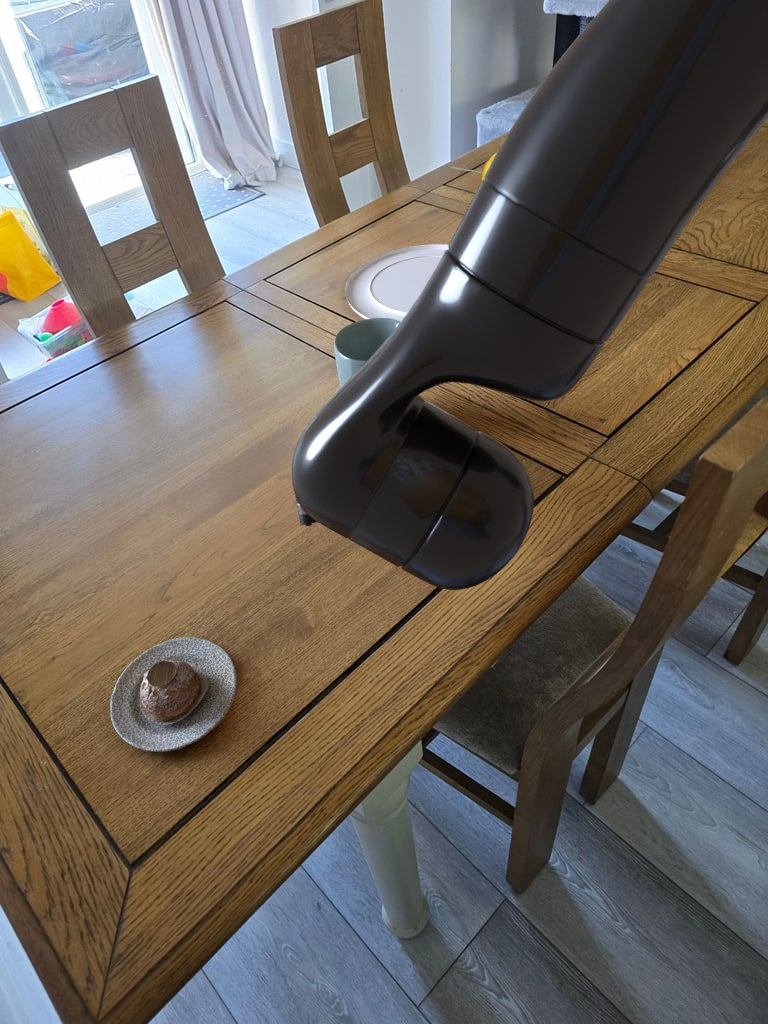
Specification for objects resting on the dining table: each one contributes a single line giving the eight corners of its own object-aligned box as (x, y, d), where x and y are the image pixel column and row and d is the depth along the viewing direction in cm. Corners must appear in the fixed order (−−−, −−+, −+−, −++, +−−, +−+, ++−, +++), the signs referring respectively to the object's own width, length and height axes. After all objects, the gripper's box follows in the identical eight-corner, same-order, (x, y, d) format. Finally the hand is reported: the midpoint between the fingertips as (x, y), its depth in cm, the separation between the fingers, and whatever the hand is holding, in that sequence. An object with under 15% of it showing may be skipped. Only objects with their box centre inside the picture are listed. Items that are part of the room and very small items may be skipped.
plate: (401, 237, 131) (400, 233, 130) (539, 265, 119) (540, 261, 118) (312, 307, 115) (311, 303, 115) (461, 348, 103) (461, 344, 103)
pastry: (91, 699, 67) (72, 674, 64) (194, 623, 73) (181, 596, 69) (156, 783, 61) (139, 760, 58) (264, 692, 66) (253, 667, 63)
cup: (353, 452, 89) (341, 369, 80) (339, 407, 96) (326, 325, 87) (427, 436, 90) (423, 352, 81) (409, 392, 97) (403, 311, 88)
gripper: (483, 420, 47) (448, 442, 64) (276, 456, 47) (295, 469, 63) (502, 528, 48) (463, 522, 64) (296, 565, 47) (309, 550, 63)
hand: (379, 496), depth 63 cm, fingers open, 8 cm apart
